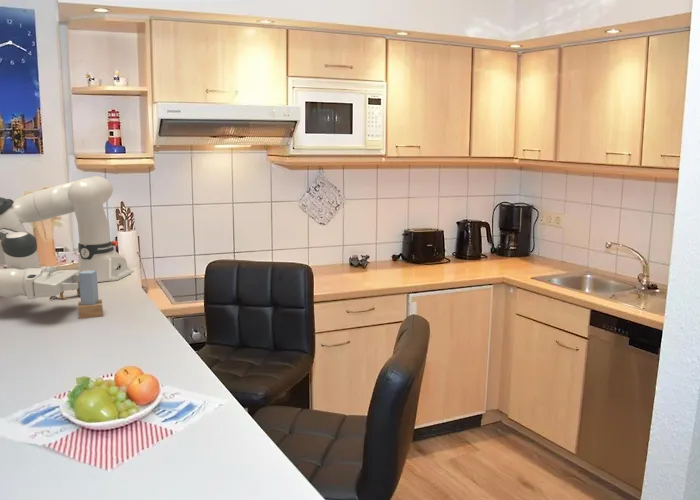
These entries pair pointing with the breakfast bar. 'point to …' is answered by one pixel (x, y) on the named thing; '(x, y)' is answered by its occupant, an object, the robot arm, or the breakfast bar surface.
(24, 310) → the breakfast bar surface
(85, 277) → the tall block
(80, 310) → the base brick
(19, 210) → the robot arm
